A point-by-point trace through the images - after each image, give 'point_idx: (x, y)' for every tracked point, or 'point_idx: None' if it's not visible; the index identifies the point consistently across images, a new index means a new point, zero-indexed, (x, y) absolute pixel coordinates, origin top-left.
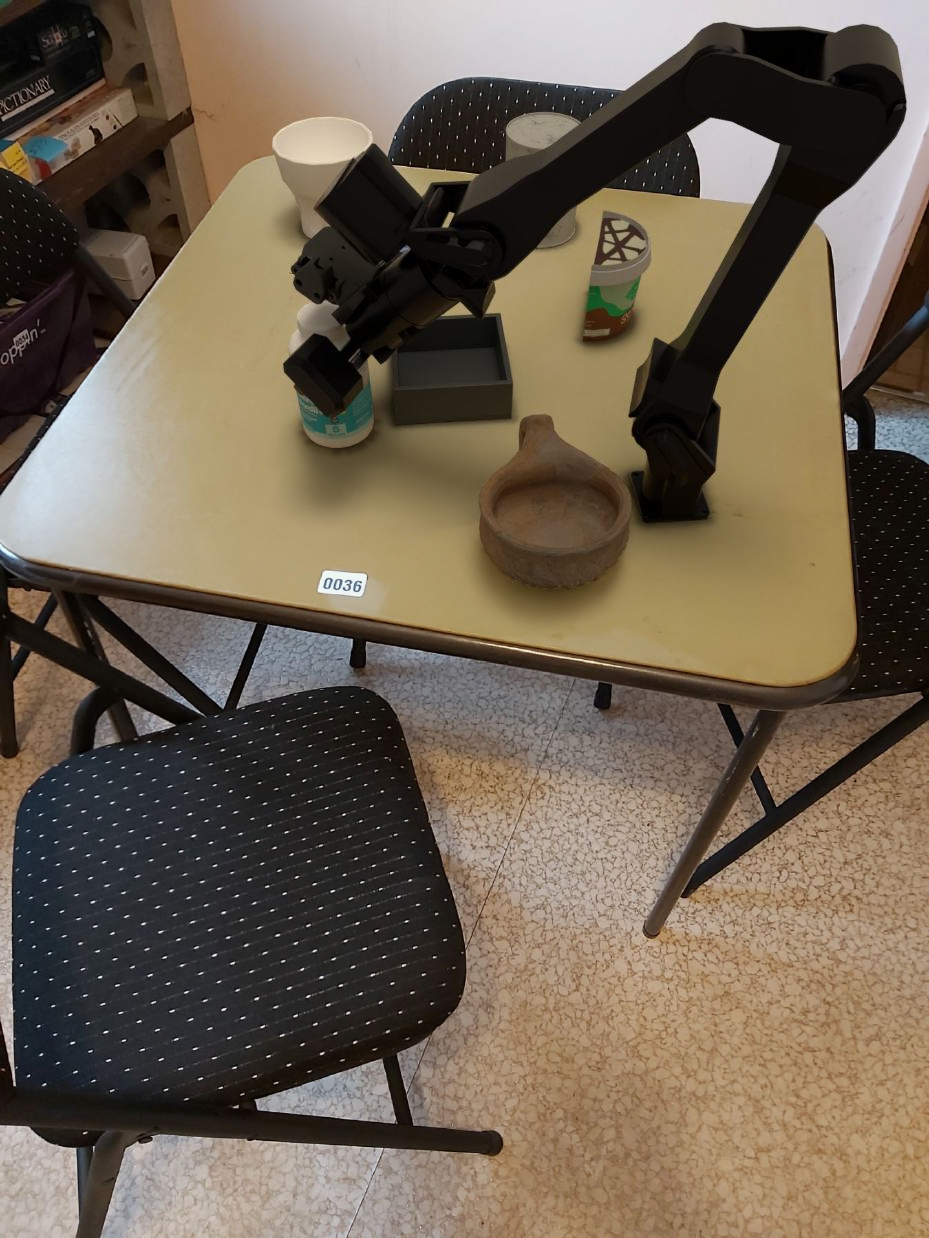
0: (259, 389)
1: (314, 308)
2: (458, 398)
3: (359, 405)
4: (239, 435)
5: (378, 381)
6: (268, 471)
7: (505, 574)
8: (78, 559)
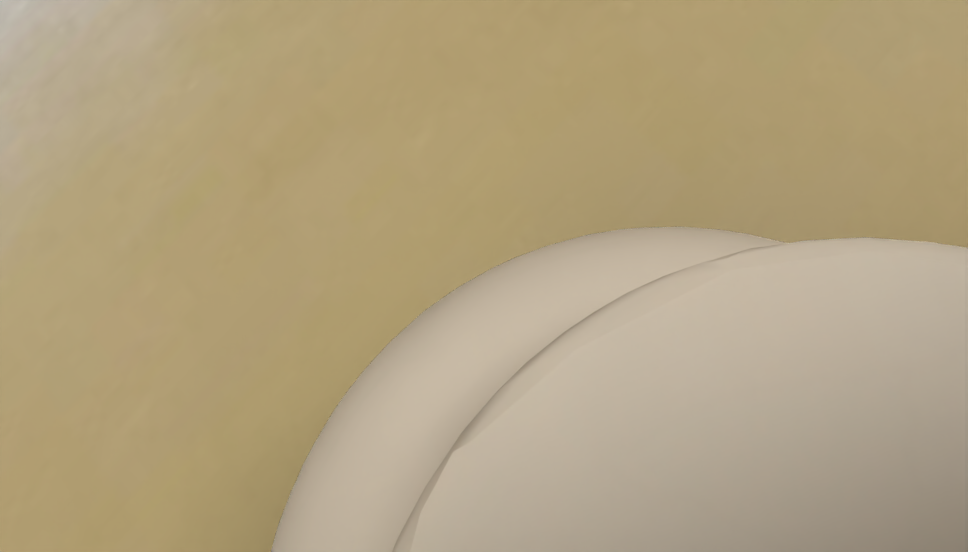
0: (489, 112)
1: (942, 469)
2: None
3: None
4: (249, 259)
5: None
6: (158, 525)
7: None
8: None
